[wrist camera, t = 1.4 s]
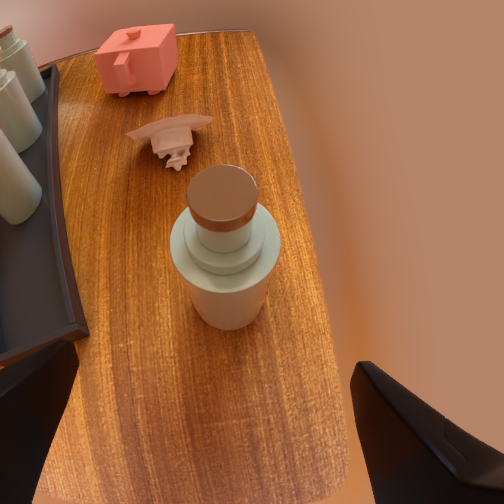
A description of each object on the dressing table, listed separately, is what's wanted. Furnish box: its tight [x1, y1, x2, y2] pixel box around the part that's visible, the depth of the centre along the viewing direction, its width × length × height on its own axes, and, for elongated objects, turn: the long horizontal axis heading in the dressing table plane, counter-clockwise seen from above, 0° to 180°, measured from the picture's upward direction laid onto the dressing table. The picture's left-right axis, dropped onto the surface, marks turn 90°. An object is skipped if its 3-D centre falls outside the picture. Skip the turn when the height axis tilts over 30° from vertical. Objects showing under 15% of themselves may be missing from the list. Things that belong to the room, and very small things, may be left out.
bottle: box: [170, 164, 281, 330], centre depth 17 cm, size 5×5×13 cm
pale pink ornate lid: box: [124, 114, 213, 171], centre depth 26 cm, size 8×5×8 cm
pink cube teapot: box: [94, 24, 179, 97], centre depth 30 cm, size 8×12×8 cm, turn 177°
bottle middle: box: [0, 69, 42, 153], centre depth 23 cm, size 5×5×13 cm
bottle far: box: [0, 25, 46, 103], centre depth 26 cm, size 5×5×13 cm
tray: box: [0, 64, 90, 367], centre depth 26 cm, size 42×9×2 cm, turn 26°
